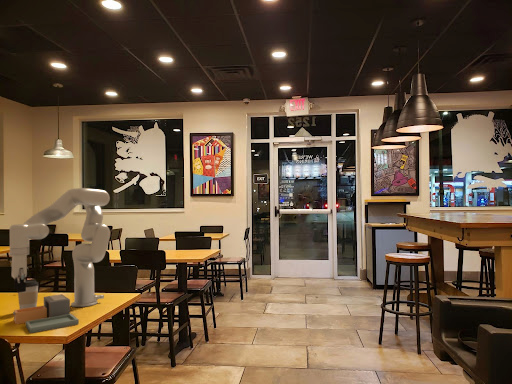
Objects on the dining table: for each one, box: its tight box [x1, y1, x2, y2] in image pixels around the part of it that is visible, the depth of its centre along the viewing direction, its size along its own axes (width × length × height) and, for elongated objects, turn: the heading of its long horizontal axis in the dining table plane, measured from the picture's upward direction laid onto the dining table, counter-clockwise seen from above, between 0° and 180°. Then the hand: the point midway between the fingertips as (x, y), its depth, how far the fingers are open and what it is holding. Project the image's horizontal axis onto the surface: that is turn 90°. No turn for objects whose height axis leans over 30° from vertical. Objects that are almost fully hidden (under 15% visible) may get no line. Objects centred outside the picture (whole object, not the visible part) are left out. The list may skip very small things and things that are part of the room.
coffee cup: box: [17, 279, 39, 309], centre depth 192 cm, size 9×9×15 cm
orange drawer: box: [12, 305, 48, 325], centre depth 176 cm, size 12×7×5 cm, turn 127°
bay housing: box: [43, 294, 71, 318], centre depth 183 cm, size 16×8×8 cm, turn 38°
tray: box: [25, 313, 80, 334], centre depth 166 cm, size 18×13×2 cm
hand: (20, 290), depth 174 cm, fingers open, 9 cm apart
